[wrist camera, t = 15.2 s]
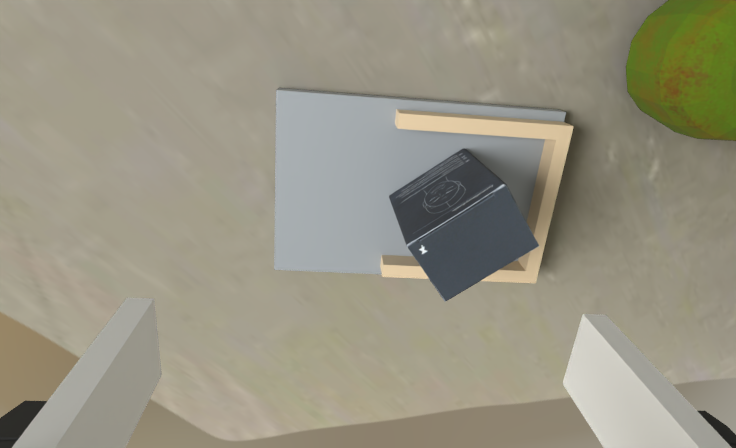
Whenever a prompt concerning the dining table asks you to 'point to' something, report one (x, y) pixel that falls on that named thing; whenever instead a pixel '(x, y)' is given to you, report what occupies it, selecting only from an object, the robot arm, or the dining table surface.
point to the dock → (399, 174)
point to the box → (461, 223)
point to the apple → (687, 67)
